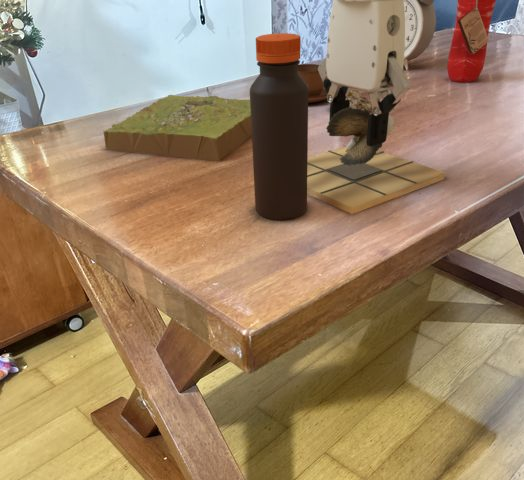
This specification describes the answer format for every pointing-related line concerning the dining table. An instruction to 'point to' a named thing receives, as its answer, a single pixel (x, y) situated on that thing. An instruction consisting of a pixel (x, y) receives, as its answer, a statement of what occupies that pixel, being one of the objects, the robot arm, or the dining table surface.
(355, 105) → the mineral rock
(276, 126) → the vinegar
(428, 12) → the alarm clock
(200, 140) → the miniature landscape model
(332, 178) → the board
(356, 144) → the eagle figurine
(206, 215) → the dining table surface
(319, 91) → the cup and saucer
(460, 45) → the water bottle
